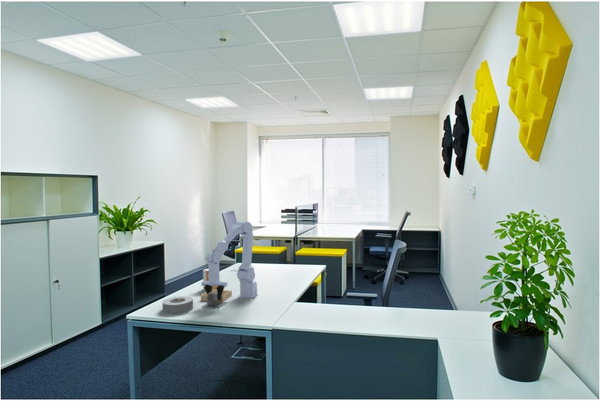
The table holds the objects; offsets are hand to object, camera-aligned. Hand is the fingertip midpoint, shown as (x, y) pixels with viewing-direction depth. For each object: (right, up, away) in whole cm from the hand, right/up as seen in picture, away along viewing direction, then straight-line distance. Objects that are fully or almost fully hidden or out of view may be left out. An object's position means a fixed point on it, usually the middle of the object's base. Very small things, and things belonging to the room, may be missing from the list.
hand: (214, 299), depth 204 cm
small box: (-10, -3, +34) cm, 35 cm away
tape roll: (-18, -4, -6) cm, 19 cm away
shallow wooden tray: (-2, -3, +13) cm, 13 cm away
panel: (0, -3, 0) cm, 3 cm away
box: (0, -2, 0) cm, 2 cm away
